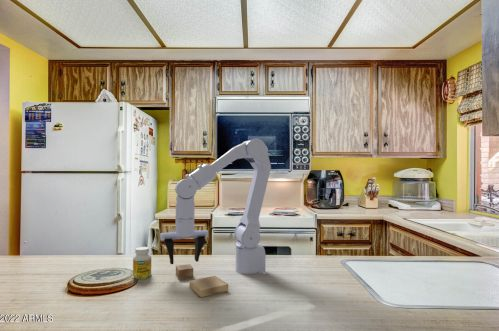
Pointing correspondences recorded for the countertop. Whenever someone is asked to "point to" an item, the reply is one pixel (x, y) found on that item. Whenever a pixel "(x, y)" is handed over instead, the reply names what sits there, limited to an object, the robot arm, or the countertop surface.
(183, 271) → the block
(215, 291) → the tile top
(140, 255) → the supplement bottle
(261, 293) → the countertop surface
